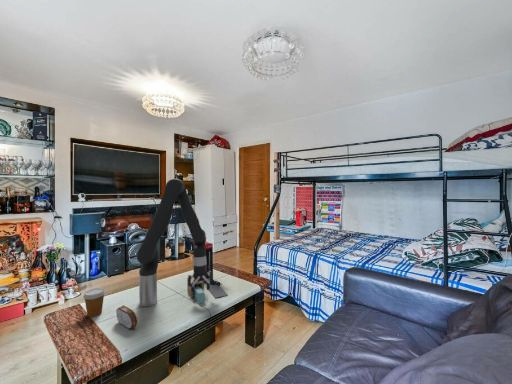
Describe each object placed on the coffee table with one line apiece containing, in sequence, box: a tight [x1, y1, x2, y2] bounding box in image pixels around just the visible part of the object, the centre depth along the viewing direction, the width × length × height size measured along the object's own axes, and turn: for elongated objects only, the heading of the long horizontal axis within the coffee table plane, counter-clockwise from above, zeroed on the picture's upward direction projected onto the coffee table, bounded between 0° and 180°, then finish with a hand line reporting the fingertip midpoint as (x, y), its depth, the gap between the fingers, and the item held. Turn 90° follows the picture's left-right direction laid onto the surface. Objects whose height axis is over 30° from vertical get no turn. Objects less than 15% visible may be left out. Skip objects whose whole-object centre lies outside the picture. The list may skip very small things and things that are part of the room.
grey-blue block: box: [193, 285, 205, 305], centre depth 144 cm, size 4×13×6 cm, turn 28°
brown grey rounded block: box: [116, 305, 138, 330], centre depth 116 cm, size 15×3×8 cm, turn 56°
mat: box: [208, 284, 229, 299], centre depth 154 cm, size 8×18×1 cm, turn 28°
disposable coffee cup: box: [83, 287, 106, 318], centre depth 126 cm, size 10×10×12 cm
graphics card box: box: [192, 240, 214, 283], centre depth 175 cm, size 17×7×27 cm, turn 47°
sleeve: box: [186, 277, 205, 299], centre depth 150 cm, size 8×10×9 cm
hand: (200, 291), depth 140 cm, fingers open, 8 cm apart
